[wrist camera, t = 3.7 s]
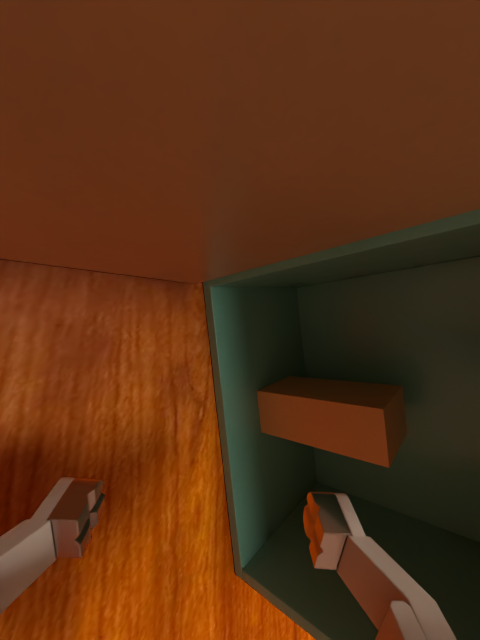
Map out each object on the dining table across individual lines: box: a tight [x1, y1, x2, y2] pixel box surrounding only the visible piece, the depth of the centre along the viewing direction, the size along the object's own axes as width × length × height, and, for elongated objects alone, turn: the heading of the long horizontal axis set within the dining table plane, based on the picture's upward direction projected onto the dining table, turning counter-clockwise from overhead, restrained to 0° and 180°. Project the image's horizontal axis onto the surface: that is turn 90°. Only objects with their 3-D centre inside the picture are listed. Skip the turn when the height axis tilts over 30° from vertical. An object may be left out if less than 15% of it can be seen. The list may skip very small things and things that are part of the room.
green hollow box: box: [203, 209, 480, 640], centre depth 22 cm, size 16×28×24 cm, turn 9°
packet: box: [257, 376, 407, 468], centre depth 26 cm, size 4×6×12 cm
